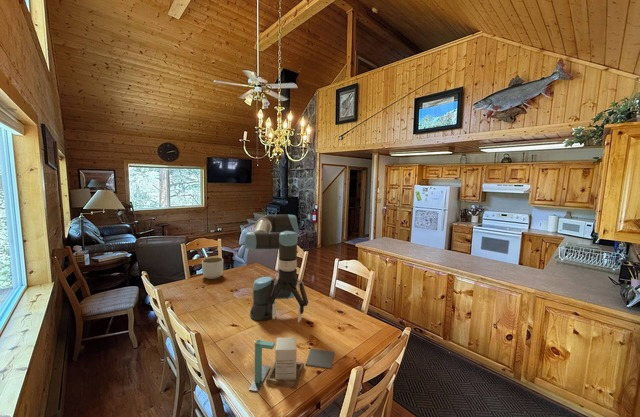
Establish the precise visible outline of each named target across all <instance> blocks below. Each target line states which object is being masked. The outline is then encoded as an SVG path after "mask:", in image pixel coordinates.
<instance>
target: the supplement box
mask: <svg viewBox="0 0 640 417" xmlns="http://www.w3.org/2000/svg"><path fill="white" fill-rule="evenodd" d="M297 345H298V344H297V337H277V338H276V345H275V360H274V361H275V362H274V363H275V372H274V376H275V377H274V379H278V380H284V381H290V382H295V380H296V377H297V368H296V362H297V355H298V354H297V350H298V349H297Z"/></svg>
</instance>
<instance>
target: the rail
mask: <svg viewBox="0 0 640 417" xmlns="http://www.w3.org/2000/svg"><path fill="white" fill-rule="evenodd" d="M270 370H271V366H269V365H263V364H262V379H261V381H260V383H255V379H253V382H252V384H251V385H250V387H249V389H248V391H249V392H254V393H258V392H259V390H260V388H261V386H262V385H263V383H264V382H265V381H264V380H266V378H267V376H268V374H269V372H270Z"/></svg>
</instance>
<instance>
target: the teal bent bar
mask: <svg viewBox="0 0 640 417" xmlns="http://www.w3.org/2000/svg"><path fill="white" fill-rule="evenodd" d="M274 347H276V345H275V342H273V341H267V340H261V339H257V340H256V341H255V343H254V380H255V383H260V381H261V379H262V366H263V364H262V363H263V349H266V350H267V349H268V350H273V349H274Z"/></svg>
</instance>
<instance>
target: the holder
mask: <svg viewBox="0 0 640 417" xmlns="http://www.w3.org/2000/svg"><path fill="white" fill-rule="evenodd" d="M304 367H305V362H304V363H303V362H297V361H296V369H299V370H298V371H297V373H296V380H295V382H290V381H284V380H278V379H275V378H273V376H274V375H275V362H274V363H273V365H272V367H271V368H270V370H269V372H268V374H267V376H266V378H265V384H266V385H271V386H275V387H276V386H278V387H284V388H287V389H288V388H289V389H293V390H297V387H298V385H299V383H300V380H301V377H302V373H303V370H304V369H305V368H304Z"/></svg>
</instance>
